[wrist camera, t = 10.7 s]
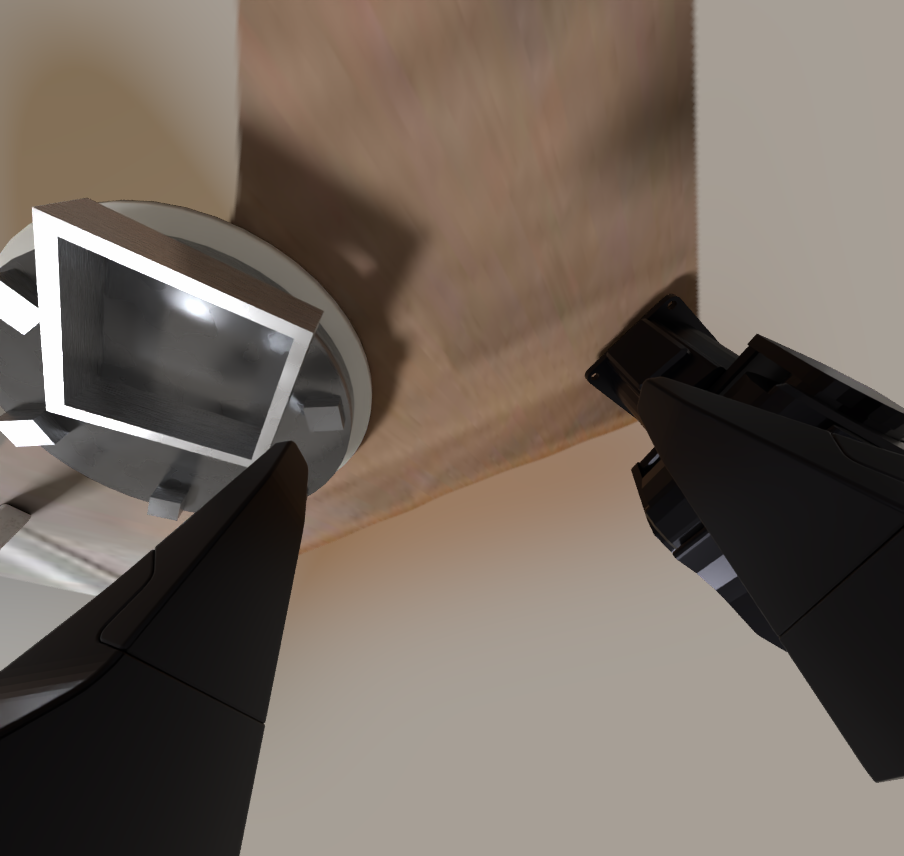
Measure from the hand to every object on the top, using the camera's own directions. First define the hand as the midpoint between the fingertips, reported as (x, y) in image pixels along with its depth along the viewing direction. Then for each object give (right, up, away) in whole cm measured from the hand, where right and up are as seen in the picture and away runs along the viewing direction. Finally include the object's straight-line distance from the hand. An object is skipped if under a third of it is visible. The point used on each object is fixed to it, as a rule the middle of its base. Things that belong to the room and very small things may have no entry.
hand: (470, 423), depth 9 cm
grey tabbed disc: (-15, +2, +12) cm, 19 cm away
